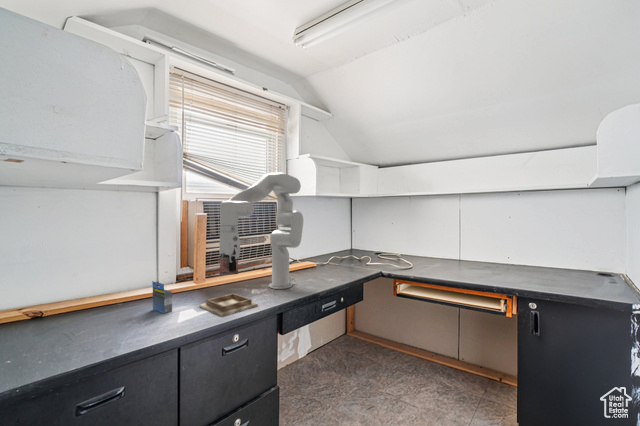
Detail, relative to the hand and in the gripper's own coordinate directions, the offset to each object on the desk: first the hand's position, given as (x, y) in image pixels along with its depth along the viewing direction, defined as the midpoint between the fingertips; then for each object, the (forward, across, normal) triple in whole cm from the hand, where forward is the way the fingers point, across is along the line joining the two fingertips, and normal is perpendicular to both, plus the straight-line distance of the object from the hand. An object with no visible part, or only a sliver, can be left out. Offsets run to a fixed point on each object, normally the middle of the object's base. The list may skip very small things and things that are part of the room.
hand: (229, 269), depth 135 cm
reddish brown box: (+2, 0, 0) cm, 2 cm away
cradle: (+16, 0, 0) cm, 16 cm away
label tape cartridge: (+17, +16, +22) cm, 32 cm away
